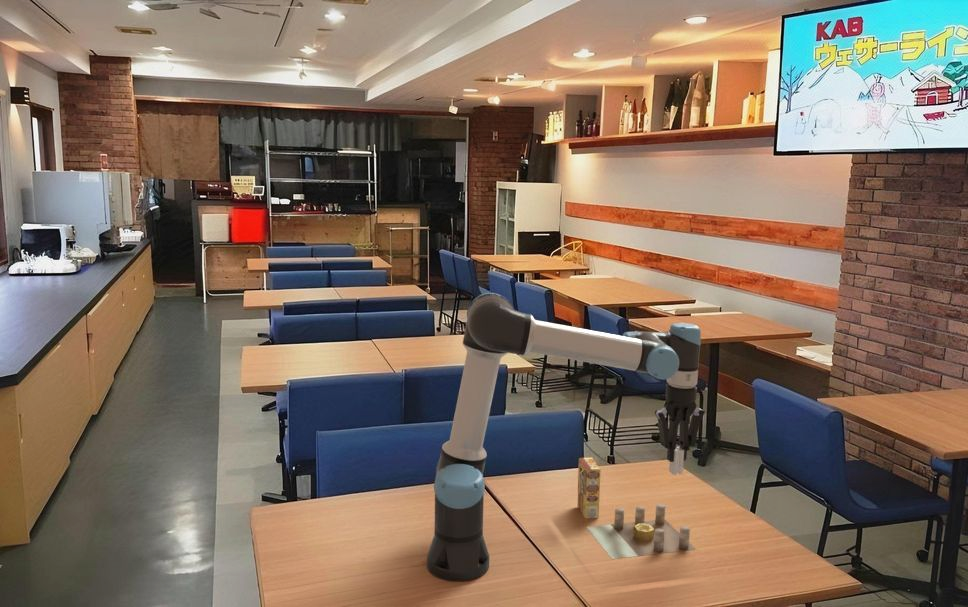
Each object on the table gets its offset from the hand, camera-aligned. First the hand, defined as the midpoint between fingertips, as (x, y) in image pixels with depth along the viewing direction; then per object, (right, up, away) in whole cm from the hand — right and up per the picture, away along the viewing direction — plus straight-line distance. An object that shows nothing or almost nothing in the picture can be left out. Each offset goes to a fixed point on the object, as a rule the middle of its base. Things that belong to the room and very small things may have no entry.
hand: (675, 472), depth 190 cm
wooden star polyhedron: (-8, -17, +1) cm, 19 cm away
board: (-9, -18, +1) cm, 21 cm away
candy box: (-21, -16, +16) cm, 30 cm away
